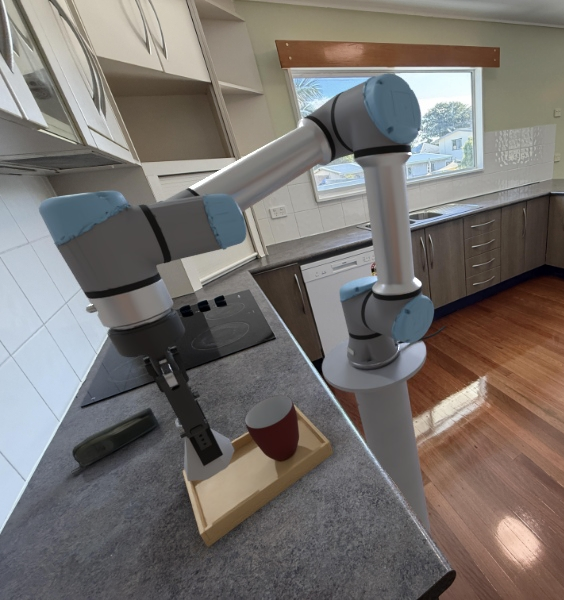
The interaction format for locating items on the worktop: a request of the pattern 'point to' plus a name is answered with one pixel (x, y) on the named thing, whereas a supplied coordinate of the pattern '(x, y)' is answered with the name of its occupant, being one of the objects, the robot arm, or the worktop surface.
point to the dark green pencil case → (113, 438)
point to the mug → (274, 427)
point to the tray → (252, 480)
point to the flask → (194, 464)
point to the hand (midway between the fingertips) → (207, 446)
